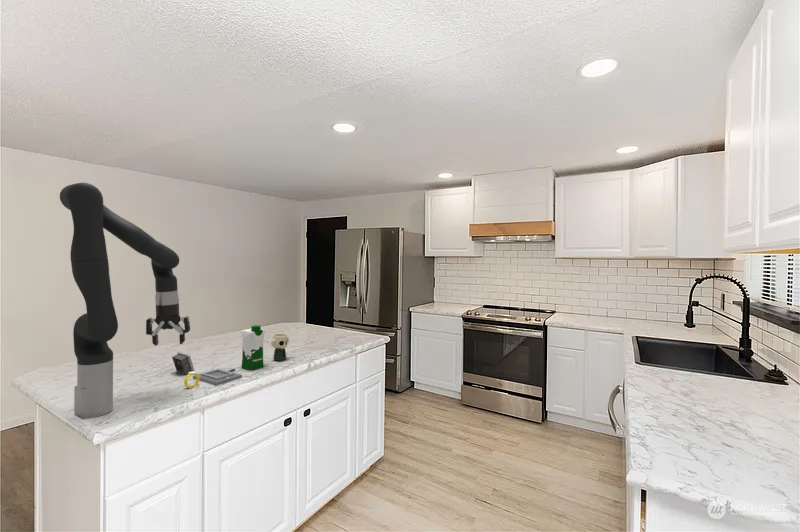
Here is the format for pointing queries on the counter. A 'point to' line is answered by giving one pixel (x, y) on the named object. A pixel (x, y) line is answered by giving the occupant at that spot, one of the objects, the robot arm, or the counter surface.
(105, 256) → the robot arm
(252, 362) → the milk carton
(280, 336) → the character mug
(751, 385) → the counter surface
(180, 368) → the electrical switch
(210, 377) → the charging dock
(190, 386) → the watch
